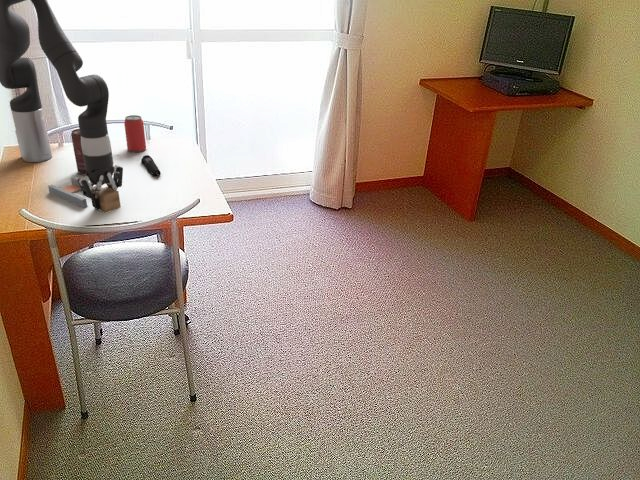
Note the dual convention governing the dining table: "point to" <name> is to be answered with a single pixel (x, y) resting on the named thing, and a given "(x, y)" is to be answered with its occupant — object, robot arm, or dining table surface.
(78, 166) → the can
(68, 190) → the channel
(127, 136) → the beer can
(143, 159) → the electric trimmer
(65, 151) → the dining table surface
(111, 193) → the block
